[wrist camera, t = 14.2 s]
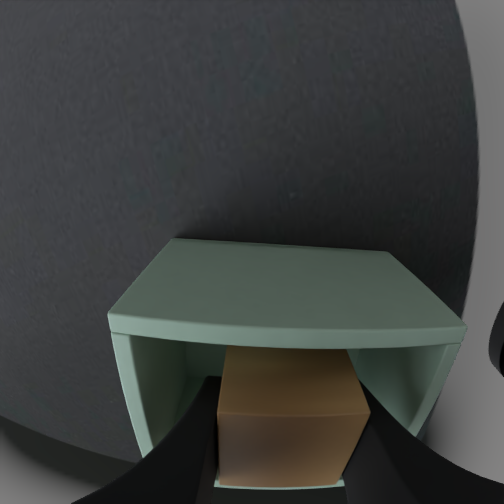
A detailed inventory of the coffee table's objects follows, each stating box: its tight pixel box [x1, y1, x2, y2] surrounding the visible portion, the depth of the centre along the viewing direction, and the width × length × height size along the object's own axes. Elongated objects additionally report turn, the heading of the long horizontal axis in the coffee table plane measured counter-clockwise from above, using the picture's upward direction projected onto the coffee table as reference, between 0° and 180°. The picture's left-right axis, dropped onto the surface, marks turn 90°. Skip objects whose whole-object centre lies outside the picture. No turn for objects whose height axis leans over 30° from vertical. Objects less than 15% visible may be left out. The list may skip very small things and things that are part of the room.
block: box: [217, 345, 371, 487], centre depth 10 cm, size 4×4×4 cm
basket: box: [108, 238, 467, 489], centre depth 12 cm, size 10×10×7 cm
